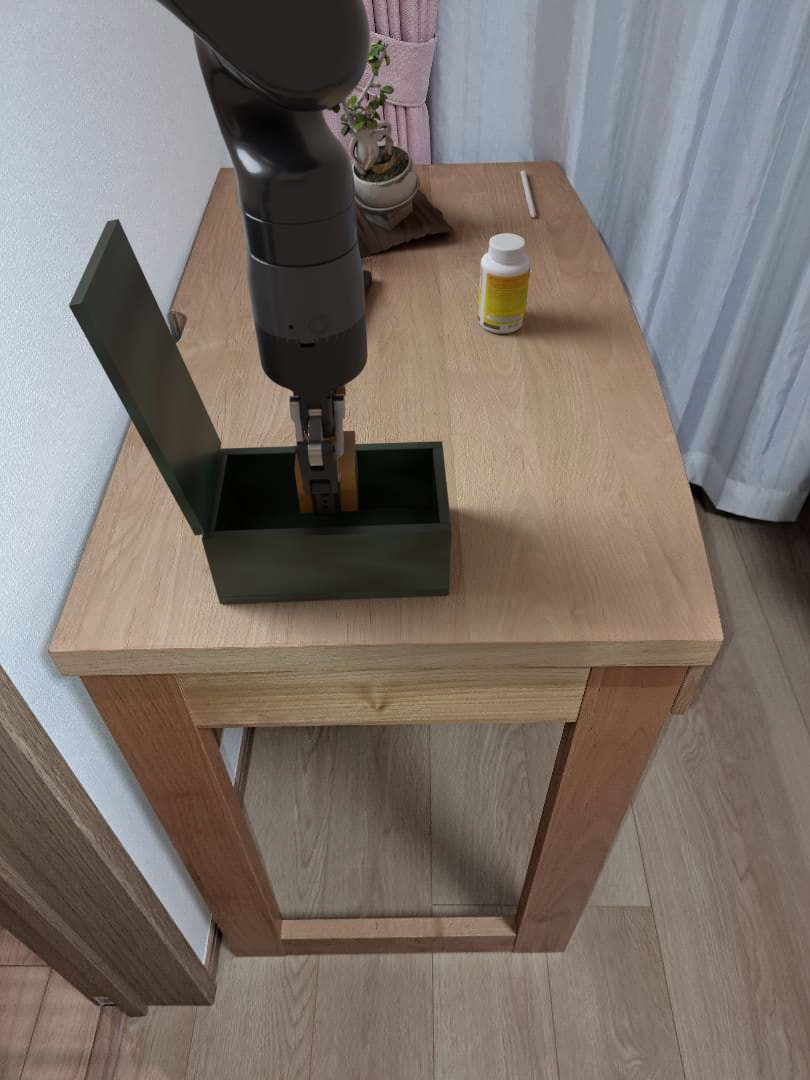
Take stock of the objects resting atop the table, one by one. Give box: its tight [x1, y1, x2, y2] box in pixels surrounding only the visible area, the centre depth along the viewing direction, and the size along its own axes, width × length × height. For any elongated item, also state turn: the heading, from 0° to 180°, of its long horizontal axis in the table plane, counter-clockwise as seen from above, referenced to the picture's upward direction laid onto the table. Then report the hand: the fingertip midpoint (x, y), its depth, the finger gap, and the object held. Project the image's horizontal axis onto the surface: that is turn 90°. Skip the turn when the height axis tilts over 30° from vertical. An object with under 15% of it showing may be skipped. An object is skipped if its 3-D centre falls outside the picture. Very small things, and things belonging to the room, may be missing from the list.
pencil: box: [520, 170, 537, 219], centre depth 121 cm, size 1×1×15 cm
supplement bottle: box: [477, 232, 531, 335], centre depth 94 cm, size 6×6×10 cm
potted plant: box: [326, 38, 457, 258], centre depth 108 cm, size 20×19×25 cm
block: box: [294, 430, 358, 513], centre depth 66 cm, size 5×5×5 cm
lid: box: [68, 218, 222, 537], centre depth 59 cm, size 20×11×1 cm
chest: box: [201, 440, 453, 605], centre depth 70 cm, size 19×11×8 cm, turn 92°
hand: (328, 489), depth 67 cm, fingers closed on block, 4 cm apart
